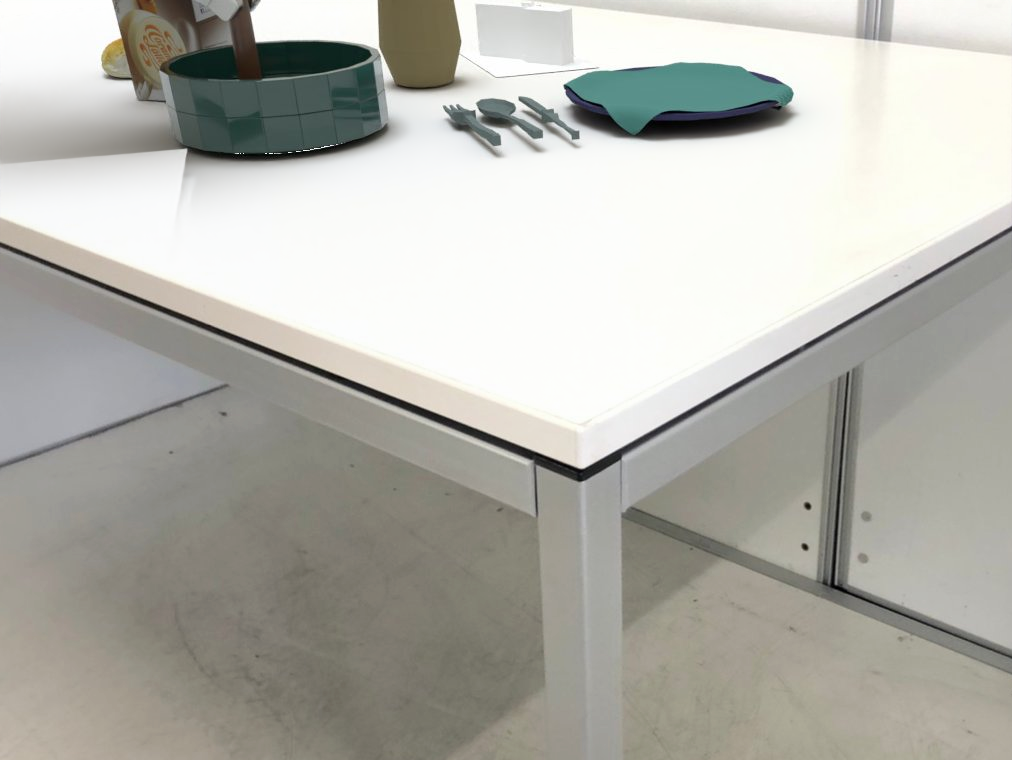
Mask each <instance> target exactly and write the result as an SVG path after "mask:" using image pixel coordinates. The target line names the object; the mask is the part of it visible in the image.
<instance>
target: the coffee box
mask: <svg viewBox="0 0 1012 760" xmlns="http://www.w3.org/2000/svg"><path fill="white" fill-rule="evenodd" d="M111 1H112V2H111V3H112V5H113V10H114V13H115V18H116V21H117V26H118V29H119V30H118V31H119V33H120V38H122V42H123V46H124V50H125V54H126V58H127V62H128V65H129V69H130V73H131V77H132V78H131V82H132V85H133V88H134V89H133V90H134V93H135V97H136V99H137V101H138V100H139V101H143V100H144V101H157V102H158V101H160V102H166V99H165V95H164V90H163V86H162V81H161V77H160V73H159V69H160V66H161V63H163V62H165V61H167V60H169V59H171V58H173V57H175V56H179V55H182V54H186V53H189V52H193V51H197V50H202V49H208V48H213V47H219V46H225V45H233V44H232V39H231V34H230V28H229V23H228V21H224V20H222V19H221V18H219V17H218V16H217V15H216V14H215V13H214V12H213V11H212V10H211V9H210V8H209V7H208V6H205V5H203V4H201V3H199V2H197V1H196V0H111Z"/></svg>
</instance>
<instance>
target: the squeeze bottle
mask: <svg viewBox="0 0 1012 760" xmlns="http://www.w3.org/2000/svg"><path fill="white" fill-rule="evenodd" d="M377 24H378V27H377V28H378V48H379V50H380V52H381V56H382V57H383V59H384V62H385V63H386V66H387V68H388V70H389V73H390V75H391V77H392V80H393V81H394V83H395V84H396V85H398V86H402V87H407V88H415V89H416V88H417V89H419V88H420V89H422V88H423V89H424V88H425V89H426V88H434V87H439V86H444V85H447V84H450V83H452V82H454V80H455V76H456V71H457V67H458V62H459V56H460V52H461V47H462V36H461V31H460V26H459V21H458V14H457V10H456V4H455V0H377Z"/></svg>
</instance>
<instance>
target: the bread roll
mask: <svg viewBox="0 0 1012 760" xmlns="http://www.w3.org/2000/svg"><path fill="white" fill-rule="evenodd" d="M100 59H101V68H102V70H103V72H105V73H106V74H107V75H109V76H111V77H113V78H120V79H132V77H131V73H130V69H129V65H128V62H127V58H126V54H125V50H124V46H123V42H122V37H119V38H117V39H115V40H113V41H112V42H110V43H108V44H107V45H106V46H105V48H104V50H103V51H102V54H101V57H100Z"/></svg>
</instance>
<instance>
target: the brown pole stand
mask: <svg viewBox="0 0 1012 760" xmlns="http://www.w3.org/2000/svg"><path fill="white" fill-rule="evenodd" d="M242 1H243V4H244V6H243V9H242V10H241V11H240V12H239V14H238V16H237V17H236V18H233V19H231V20H228V23H229V28H230V34H231V39H232V44H233V49H234V55H235V60H236V65H237V70H238V76H239V80H258V79H262V75H261V69H260V63H259V58H258V52H257V47H256V42H257V41H256V36H255V29H254V24H253V20H252V14H251V13H252V12H250V8H249V2H248V0H242Z"/></svg>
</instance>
